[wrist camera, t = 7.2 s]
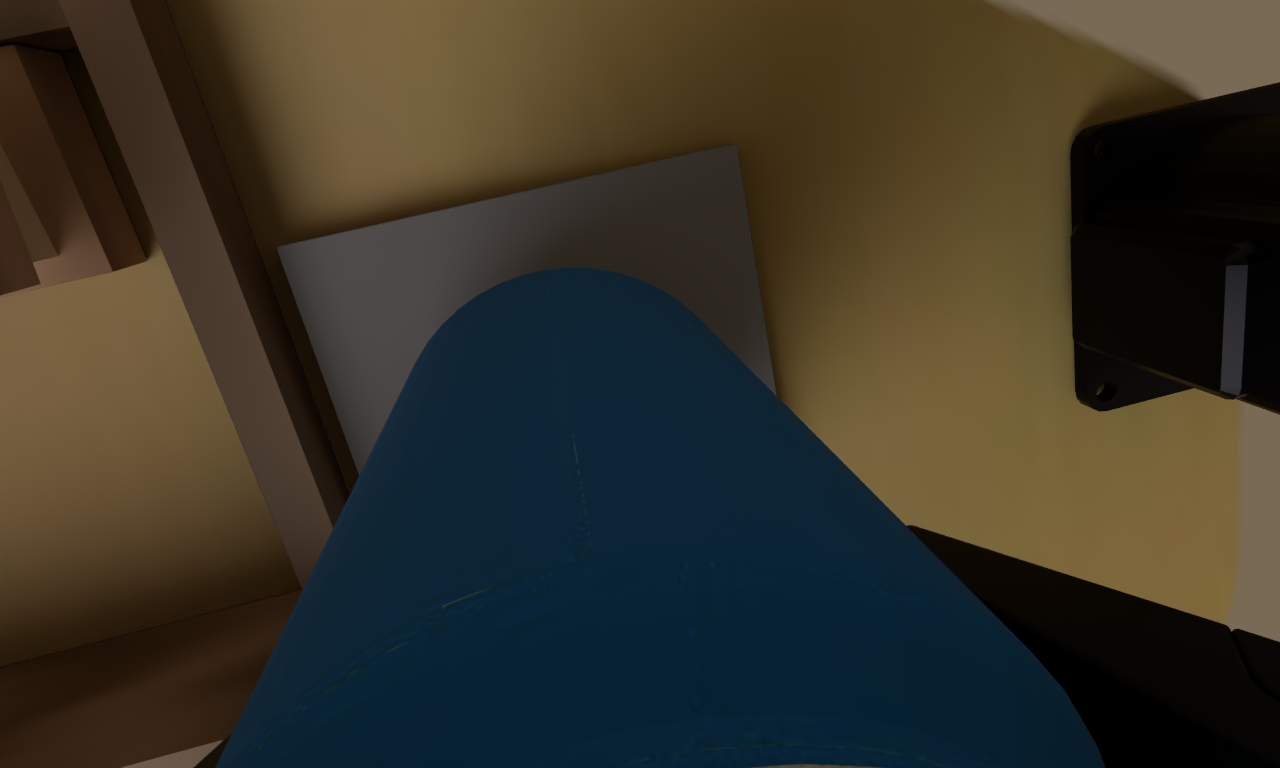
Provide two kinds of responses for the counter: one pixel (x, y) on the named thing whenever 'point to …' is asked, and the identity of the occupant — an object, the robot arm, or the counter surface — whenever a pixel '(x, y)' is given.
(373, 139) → the counter surface
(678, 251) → the rubber mat
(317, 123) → the counter surface
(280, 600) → the rack
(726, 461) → the beverage can
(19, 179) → the offcut stack
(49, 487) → the counter surface
